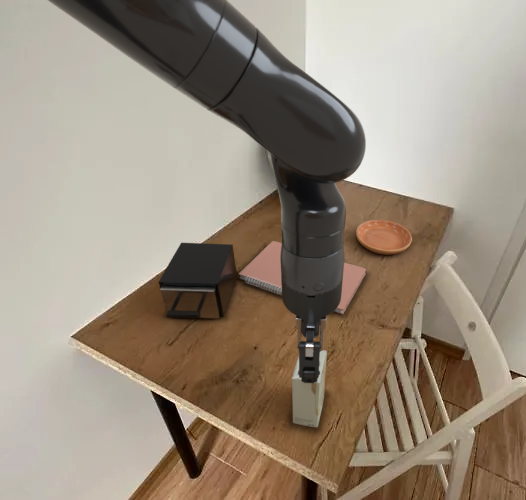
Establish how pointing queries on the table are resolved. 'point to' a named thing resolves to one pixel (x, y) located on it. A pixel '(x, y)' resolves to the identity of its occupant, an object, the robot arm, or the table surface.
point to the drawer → (190, 301)
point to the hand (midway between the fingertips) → (310, 354)
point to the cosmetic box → (308, 395)
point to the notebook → (269, 274)
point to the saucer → (383, 236)
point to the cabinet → (203, 269)
